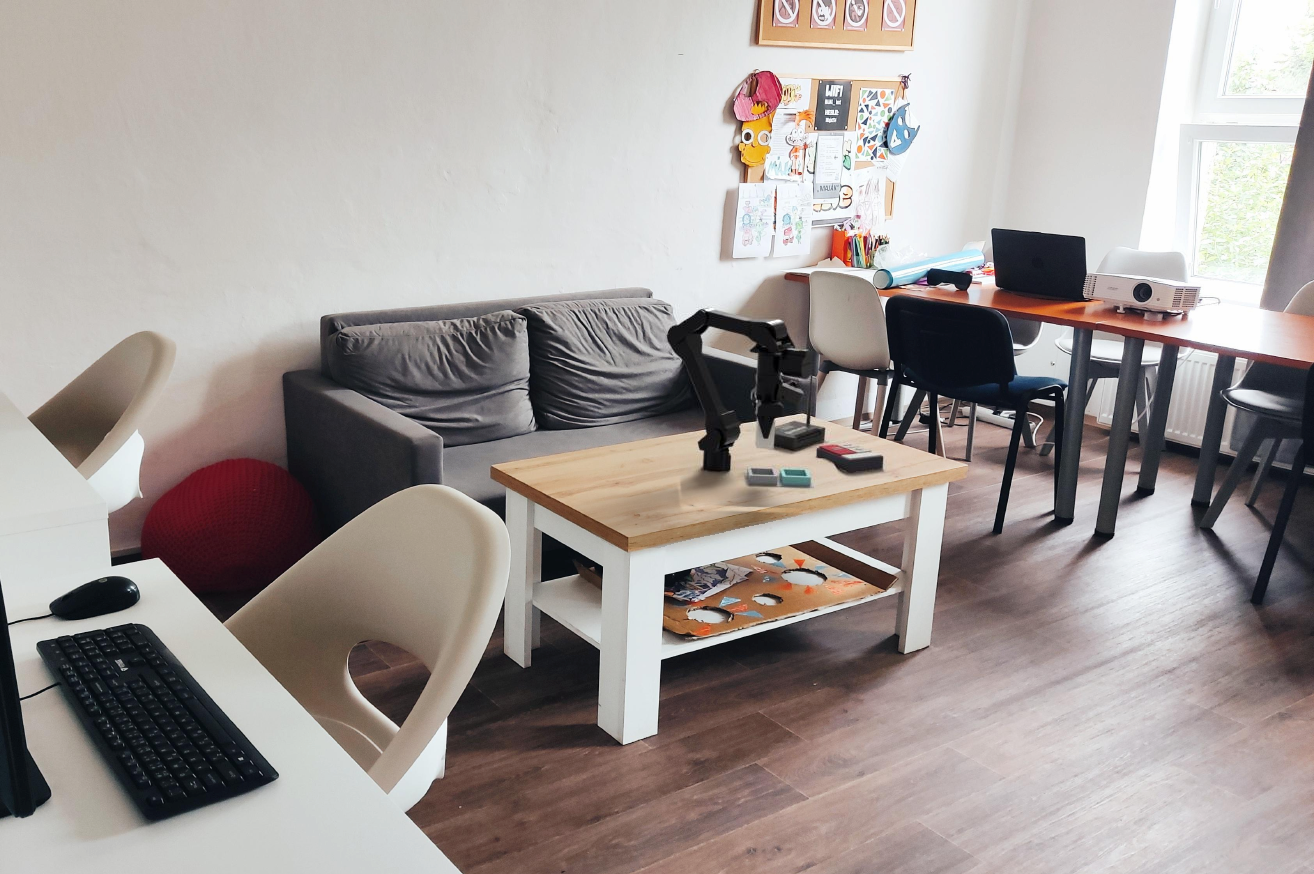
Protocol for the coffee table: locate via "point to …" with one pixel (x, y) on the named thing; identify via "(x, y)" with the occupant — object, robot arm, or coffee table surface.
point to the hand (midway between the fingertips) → (764, 436)
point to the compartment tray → (778, 477)
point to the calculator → (851, 457)
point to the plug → (765, 442)
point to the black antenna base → (799, 431)
